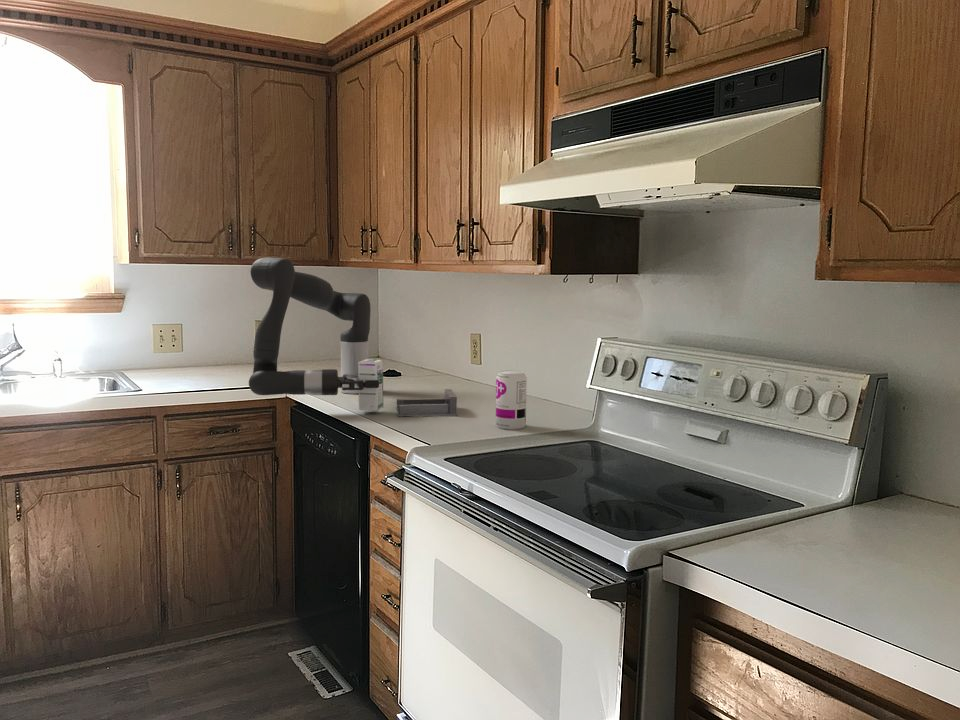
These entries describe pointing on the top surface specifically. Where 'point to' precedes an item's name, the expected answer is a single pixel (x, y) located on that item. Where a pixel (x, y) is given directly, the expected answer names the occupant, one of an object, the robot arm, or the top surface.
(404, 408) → the bracket
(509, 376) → the supplement can
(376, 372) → the syrup box
